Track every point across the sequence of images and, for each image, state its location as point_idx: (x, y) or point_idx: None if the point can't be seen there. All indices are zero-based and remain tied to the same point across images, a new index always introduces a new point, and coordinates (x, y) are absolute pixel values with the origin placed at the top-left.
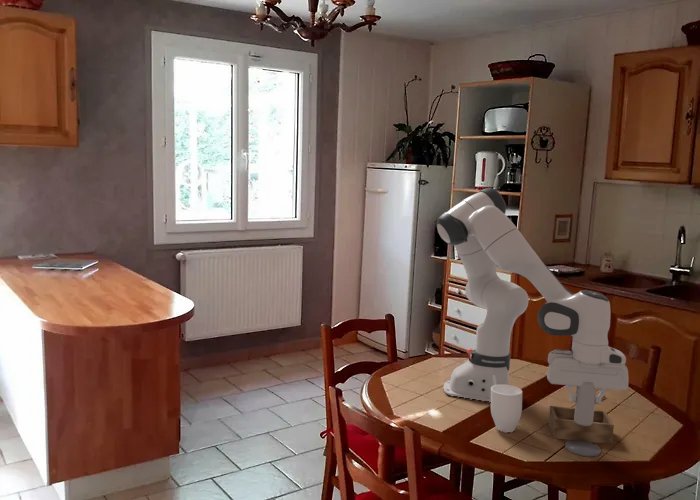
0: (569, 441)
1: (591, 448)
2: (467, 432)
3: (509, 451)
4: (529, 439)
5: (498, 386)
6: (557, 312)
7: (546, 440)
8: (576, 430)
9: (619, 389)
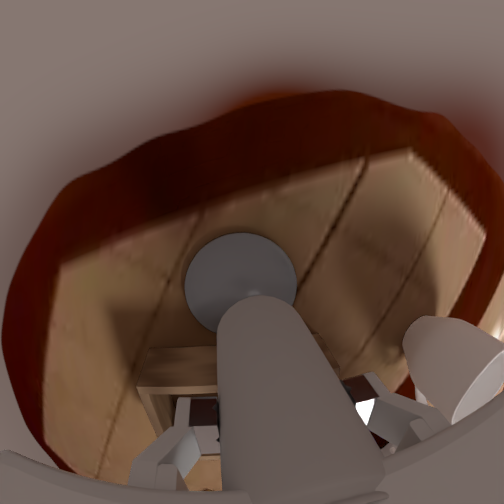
0: None
1: (213, 286)
2: (481, 279)
3: (436, 202)
4: (383, 298)
5: (481, 405)
6: None
7: (341, 310)
8: None
9: (28, 461)
